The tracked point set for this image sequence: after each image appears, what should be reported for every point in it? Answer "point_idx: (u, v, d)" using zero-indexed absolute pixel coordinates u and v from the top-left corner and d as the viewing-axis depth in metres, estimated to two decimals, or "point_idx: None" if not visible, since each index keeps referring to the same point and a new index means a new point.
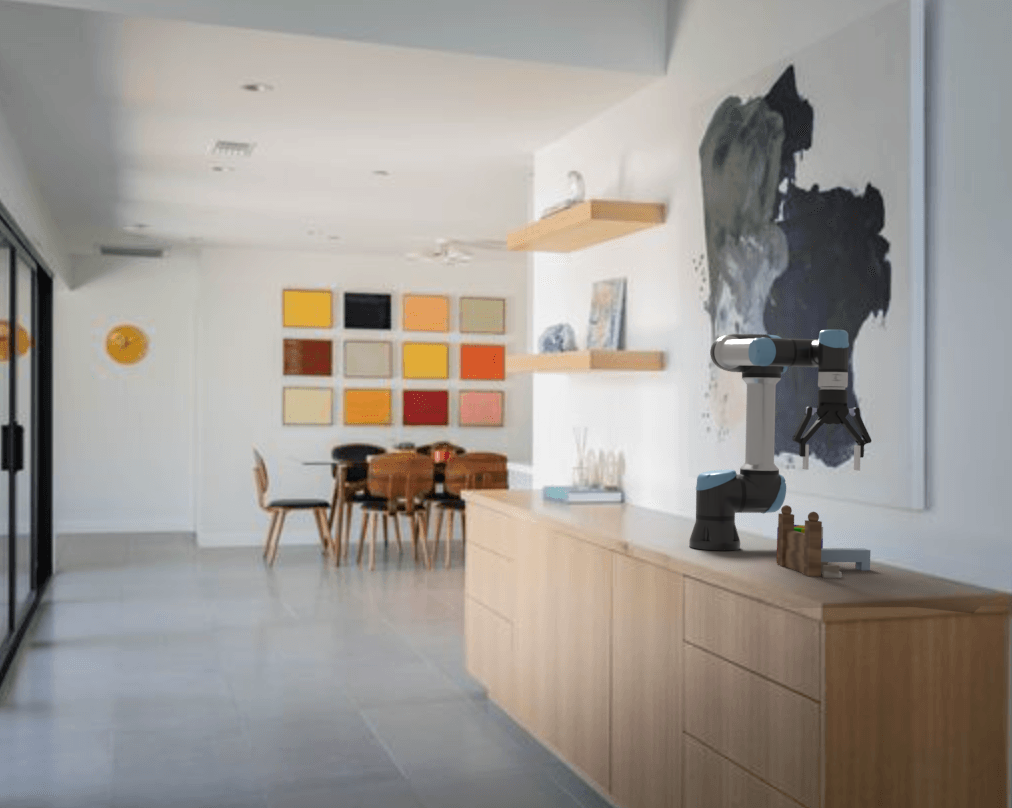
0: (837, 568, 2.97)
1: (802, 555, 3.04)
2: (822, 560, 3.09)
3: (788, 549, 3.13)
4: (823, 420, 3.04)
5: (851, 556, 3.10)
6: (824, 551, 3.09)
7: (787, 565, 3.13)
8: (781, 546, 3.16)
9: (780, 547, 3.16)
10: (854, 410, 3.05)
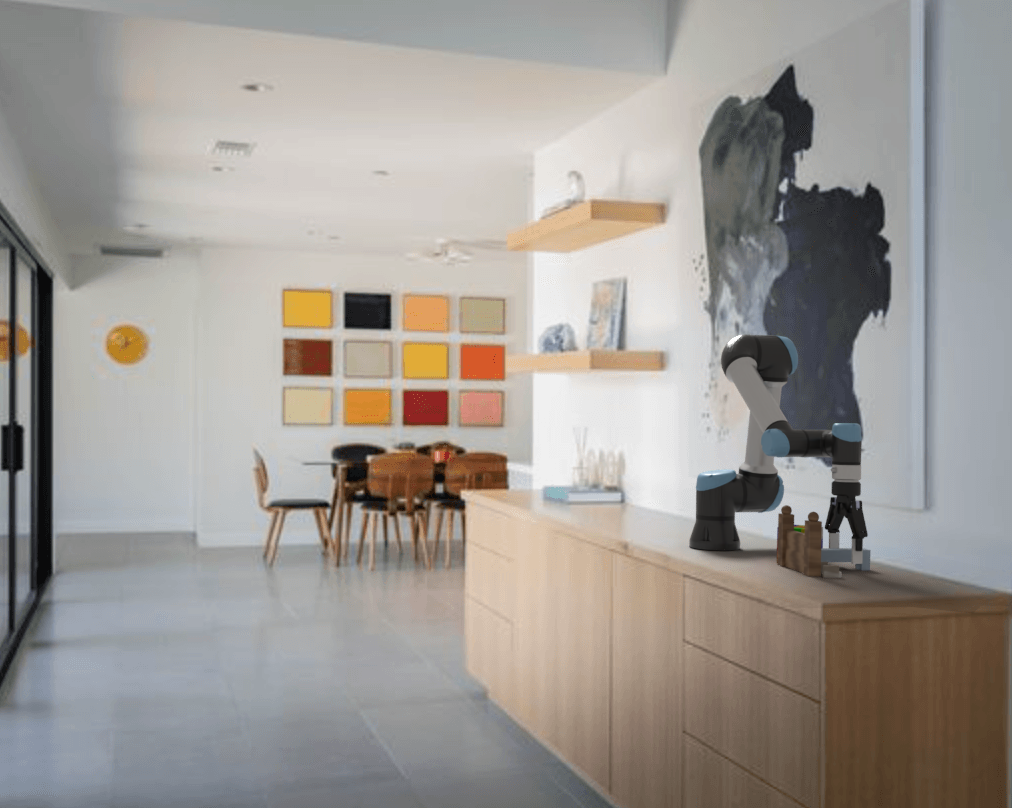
0: (837, 568, 2.97)
1: (802, 555, 3.04)
2: (822, 560, 3.09)
3: (788, 549, 3.13)
4: (835, 511, 3.14)
5: (851, 556, 3.10)
6: (824, 551, 3.09)
7: (787, 565, 3.13)
8: (781, 546, 3.16)
9: (780, 547, 3.16)
10: None
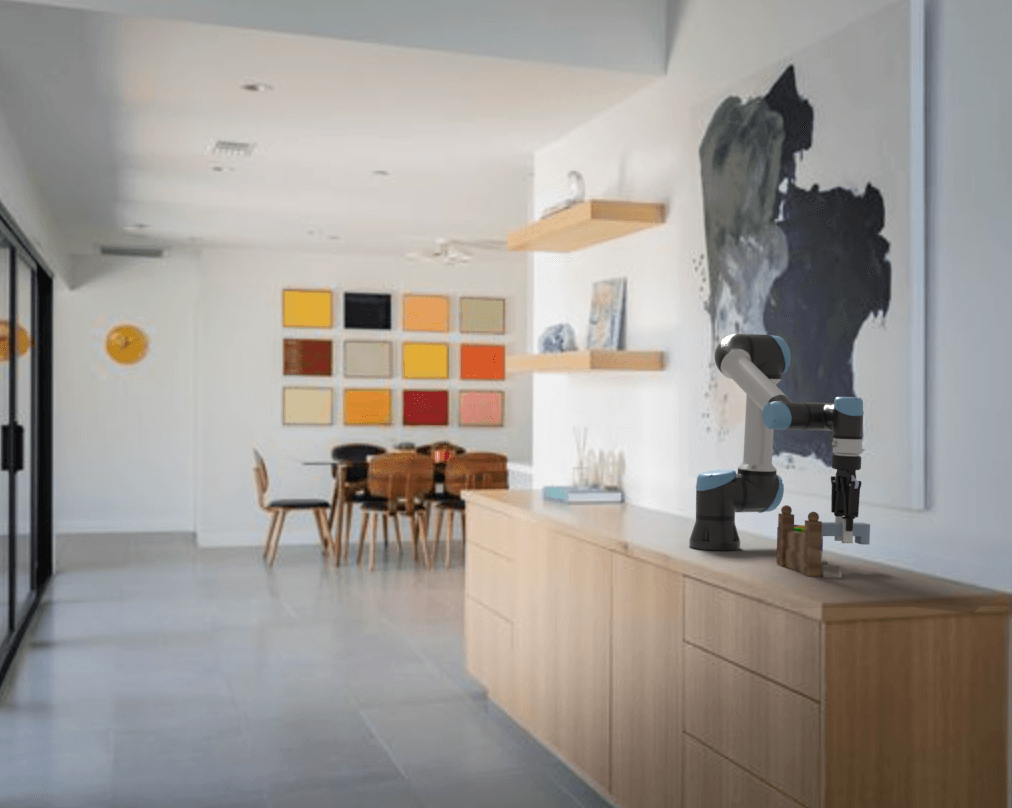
0: (837, 568, 2.97)
1: (802, 555, 3.04)
2: (822, 534, 3.09)
3: (788, 549, 3.13)
4: (836, 486, 3.13)
5: None
6: (824, 525, 3.09)
7: (787, 565, 3.13)
8: (781, 546, 3.16)
9: (780, 547, 3.16)
10: None
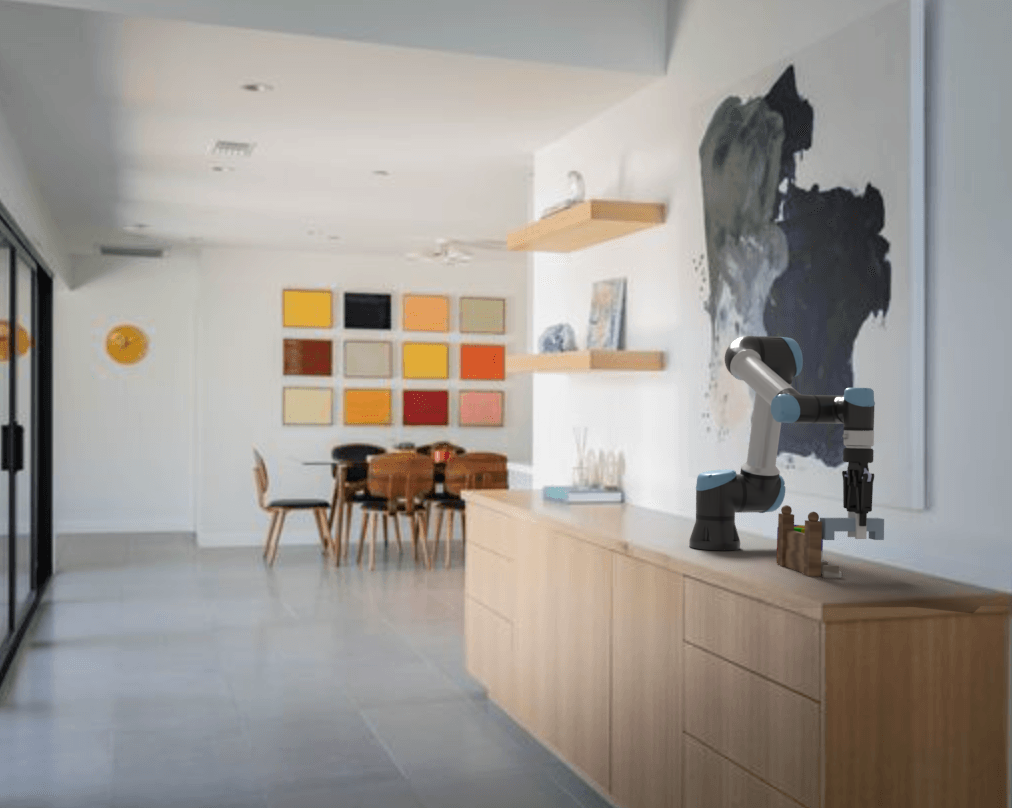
0: (837, 568, 2.97)
1: (802, 555, 3.04)
2: (834, 529, 2.98)
3: (788, 549, 3.13)
4: (848, 481, 3.03)
5: None
6: (836, 520, 2.99)
7: (787, 565, 3.13)
8: (781, 546, 3.16)
9: (780, 547, 3.16)
10: None
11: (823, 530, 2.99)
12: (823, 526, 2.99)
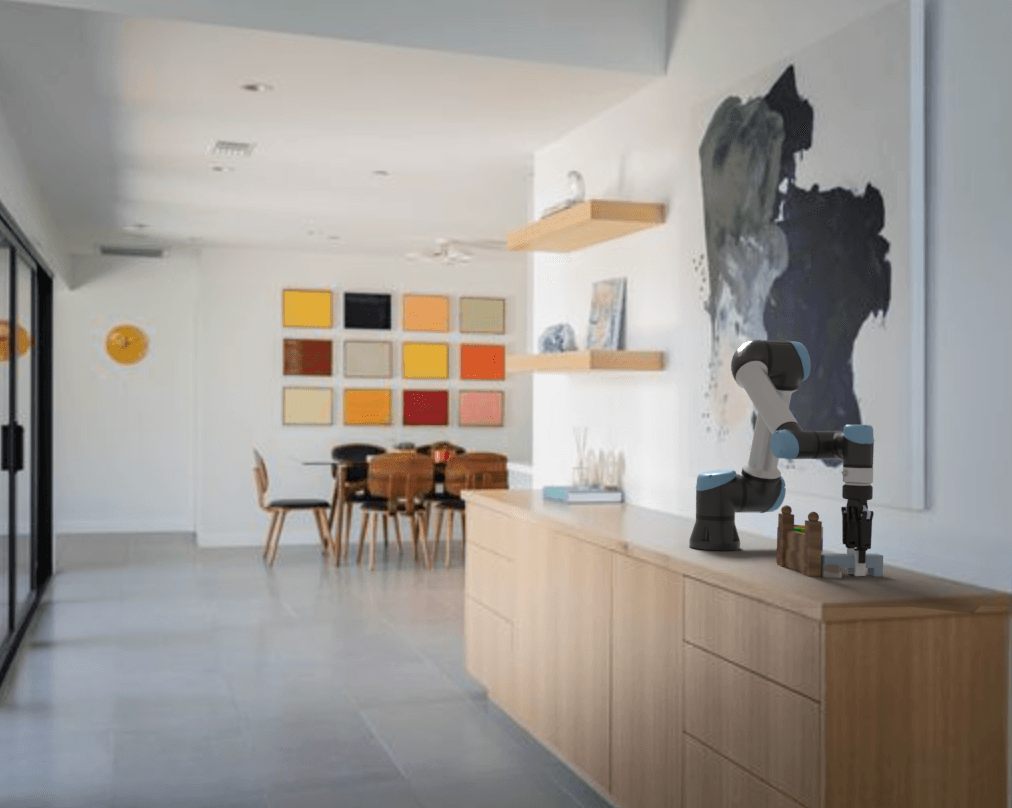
0: (837, 568, 2.97)
1: (802, 555, 3.04)
2: None
3: (788, 549, 3.13)
4: (847, 517, 3.03)
5: None
6: (835, 556, 2.99)
7: (787, 565, 3.13)
8: (781, 546, 3.16)
9: (780, 547, 3.16)
10: None
11: (822, 567, 3.00)
12: (822, 562, 2.99)
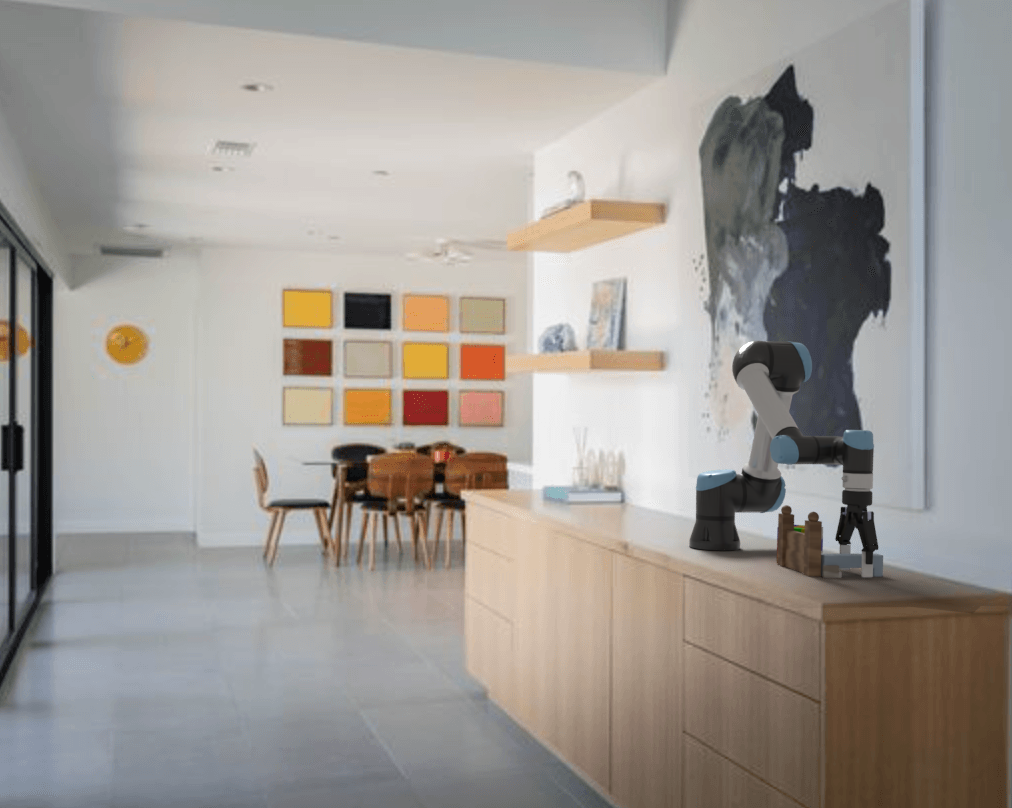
0: (837, 568, 2.97)
1: (802, 555, 3.04)
2: None
3: (788, 549, 3.13)
4: (845, 521, 3.04)
5: None
6: (835, 556, 2.99)
7: (787, 565, 3.13)
8: (781, 546, 3.16)
9: (780, 547, 3.16)
10: None
11: (822, 567, 3.00)
12: (822, 562, 2.99)
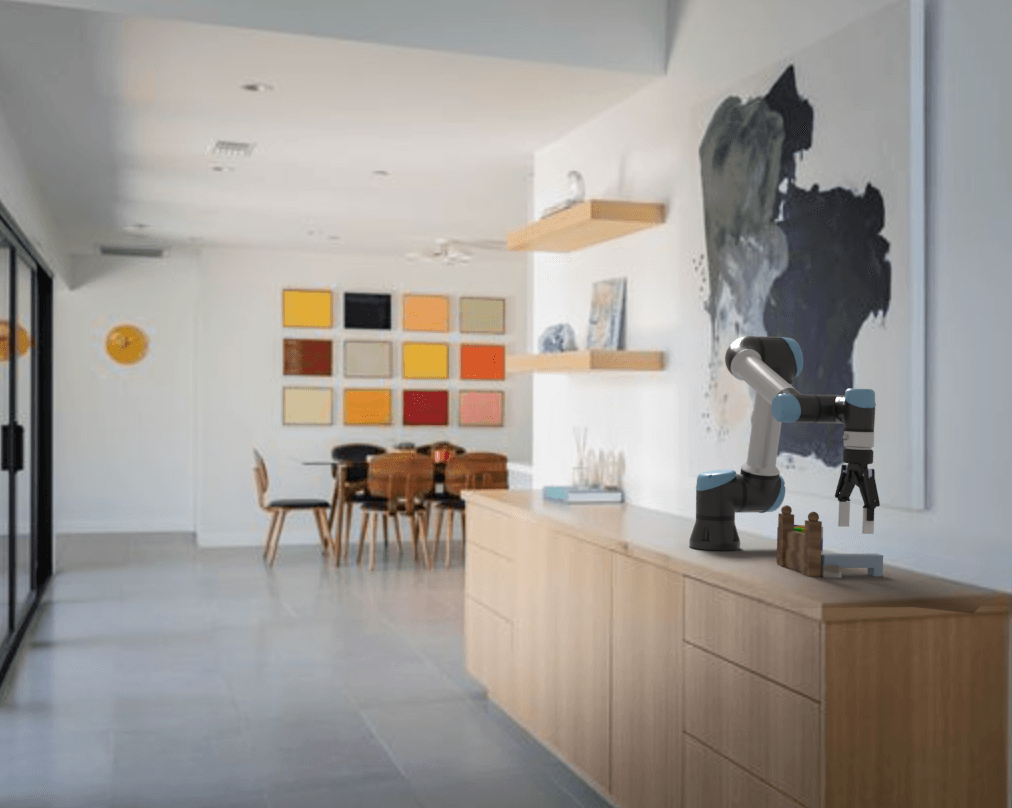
0: (837, 568, 2.97)
1: (802, 555, 3.04)
2: None
3: (788, 549, 3.13)
4: (846, 479, 3.04)
5: (863, 562, 3.00)
6: (835, 556, 2.99)
7: (787, 565, 3.13)
8: (781, 546, 3.16)
9: (780, 547, 3.16)
10: None
11: (822, 567, 3.00)
12: (822, 562, 2.99)
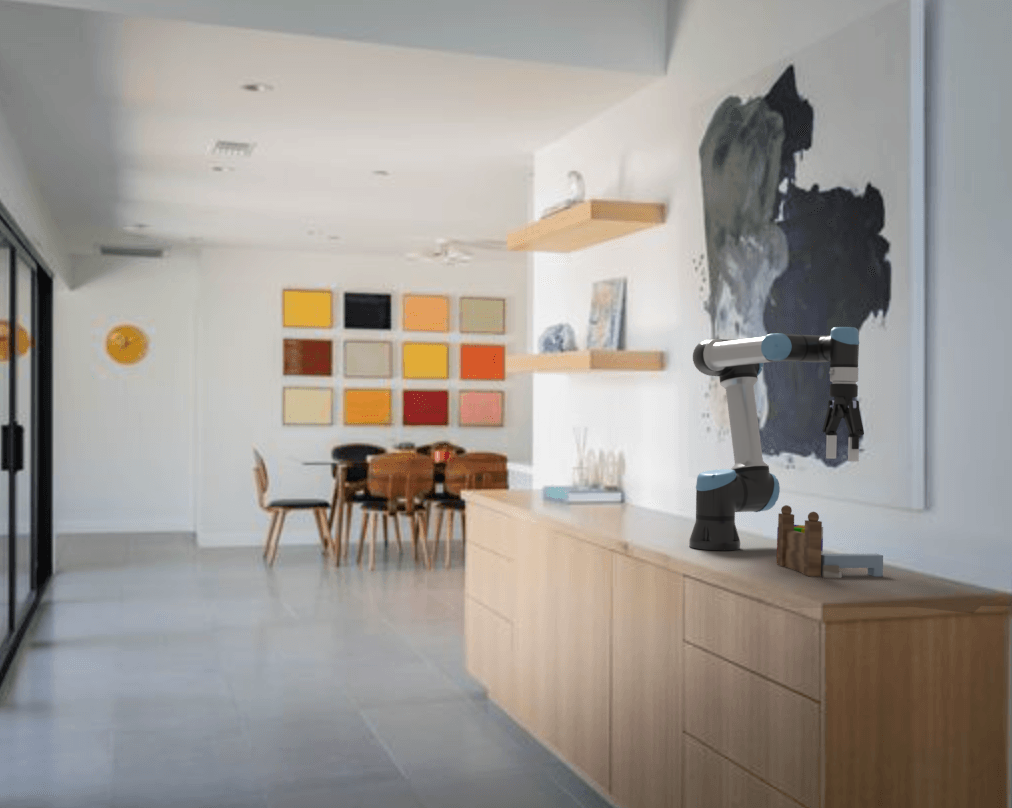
0: (837, 568, 2.97)
1: (802, 555, 3.04)
2: None
3: (788, 549, 3.13)
4: (832, 412, 3.24)
5: (863, 562, 3.00)
6: (835, 556, 2.99)
7: (787, 565, 3.13)
8: (781, 546, 3.16)
9: (780, 547, 3.16)
10: None
11: (822, 567, 3.00)
12: (822, 562, 2.99)
